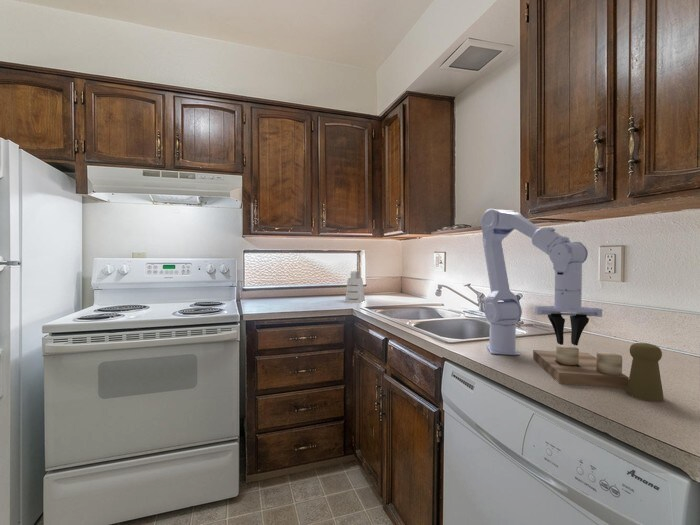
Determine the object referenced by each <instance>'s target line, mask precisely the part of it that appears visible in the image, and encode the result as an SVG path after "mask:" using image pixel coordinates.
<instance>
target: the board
mask: <svg viewBox="0 0 700 525" xmlns="http://www.w3.org/2000/svg"><path fill="white" fill-rule="evenodd" d="M532 359H533V360H534V361H535V362H536V363H537V364H538V365H540V367H541V366H542V367H543V368H544V369H543V368H542V367H541V368H542V369H543V370H545V372H547V374H548V375H550V376H551V377H552V378H553V379H554V380H555V379H556V380H557V381H558V382H559V383H558V382H557V381H556V380H555V381H556V382H557V383H558V384H562V383H567V384H566V385H576V384H577V385H578V386H589V385H592V386H593V387H607V388H619V389H627V387H628V381H629V376H628V375H626V374H624V373H623V356H622V355H621V354H618V353H612V352H607V351H599V352H597V353H596V356H594V355H592V354H590V353H588V352H579V364H576V366H575V367H573V366H560V365H559V362H558V361H556V350H540V349H539V350H538V349H537V350H535V349H533V351H532Z"/></svg>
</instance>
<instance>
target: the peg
mask: <svg viewBox="0 0 700 525" xmlns="http://www.w3.org/2000/svg"><path fill="white" fill-rule="evenodd" d="M555 347H556V348H555V351H556V361H558V362H559V365H560V366H573V367H575V366H576V364H579V353H580V351H579V349H580V348H578V347H577V346H576V347H575V346H574V345H573V346H572V345H564V344H563V345H560V344H558V345H556V346H555Z"/></svg>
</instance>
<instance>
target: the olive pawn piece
mask: <svg viewBox="0 0 700 525" xmlns="http://www.w3.org/2000/svg"><path fill="white" fill-rule="evenodd" d="M629 355H630V356H631V357H632V360H631V365H630V371H629V376H628V377H629V381H628V387H627V388H626V394H627V395H629V396H630V397H632V396H633V397H632V398H635V399H638V400H642V401H647V402H653V403H654V402H655V403H660V402H664V400H665V398H664V391H663V384H662V379H661V377H662V376H661V373H660V372H661V371H660V365H659V361H660V360H661V359H662V356H663V352H662V349H661V348H660V347H659V346H657V345H654V344H651V343H647V342H635V343H632V344H631V345H630V347H629Z"/></svg>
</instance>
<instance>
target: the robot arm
mask: <svg viewBox="0 0 700 525" xmlns="http://www.w3.org/2000/svg"><path fill="white" fill-rule="evenodd" d="M481 216H482V217H481V218H480V226H481V233H482V245H483V252H484V258H485V263H486V264H485V265H486V268H487V276H488V281H489V283H488V284H489V288H490V289H489V290H490V293H489V294H488V295H487V296H486V298H485V299H484V304H485V305H484V316H485V318H486V320H487V321H488V323H490V324H489V325H490V326H489V335H488V336H489V341H488V342H489V344H486V345H485V346H486V348H487V349H488V351H489V352H490V354H492V355H507V356H508V355H509V356H520V355H521V354H520V353H519V351H517V350H516V343H517V342H516V340H517V338H516V337H517V336H516V333H517V332H516V331H517V327H516V326H517V324H518V322H519V320H520V319H521V318H522V314H523V310H522V306H521V304H520V303H519V301H518V296H517V295H516V294H515V293H513V292H512V291H511V290H510V282H509V278H508V272H507V267H506V261H505V255H504V249H503V243H502V242H503V241H504V239H506V238H507V237H508V236H509V235H510V234H511V233H512V232H513V231H515V230H516V231H518V232H519V233H521V234H523V235H525V236H527V237H528V238H530V239H531V243H532V245H533V246H534V247H535V248H537V249H539V250H540V251H541V252H543V253H545V254H546V255H548V257H549V259H550V261H551V263H552V265H553V268H552V269H553V271H554V305H546V306H544V305H542V306H540V305H539V306H538V305H535V306H534V314H535V315H537V316H542V315H543V316H545V315H546V316H547V318H548V320H549V322H550V323H551V326H552V328H553V332H554V334H555V339H556V343H557V344H558V345H564V340H565V339H564V330H565V329H564V327H565V322H566V319H565V318H564V317H563V316H569V318H570V327H571V332H570V333H571V334H570V341H571V342H570V343H571V345H573V346H579V341H580V339H581V336H582V333H583V331H584V329H585V327H586V326H587V325H588V323H589V322H590V317H597V318H602V317H603V309H602V308H599V307H585V306H582V291H583V290H582V288H583V283H582V282H583V277H582V276H583V264H584V263H585V262H586V260H587V259H588V255H589V254H588V252H589V251H588V249H587V247H586V246H585V245H584V244H583V243H582V242H580V241H571V240H570V238H569V237H567V236H563V235H561V234H559V233H557V232H556V229H555V228H554V227H553V226H552V227H551V226H550V227H549V226H548V227H546V226H545V227H541V228H540V227H539V226H538V225H536V224H534V223H533V222H531V221H530V220H529V219H528V218H526V217H524V216H523V215H522V213H520V212H517V211H516V210H514V209H508V210H506V209H494V208H487V209H486V210H485V211H484V213H483V214H482V215H481Z"/></svg>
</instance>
